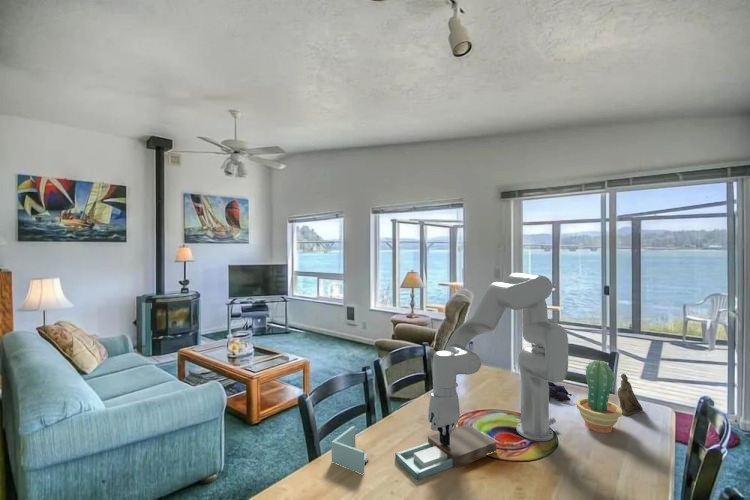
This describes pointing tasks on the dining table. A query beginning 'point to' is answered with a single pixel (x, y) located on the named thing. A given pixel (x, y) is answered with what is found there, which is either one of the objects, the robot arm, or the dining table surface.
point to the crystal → (558, 392)
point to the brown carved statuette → (628, 398)
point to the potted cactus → (599, 398)
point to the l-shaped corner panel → (348, 451)
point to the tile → (429, 456)
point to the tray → (414, 468)
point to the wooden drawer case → (465, 445)
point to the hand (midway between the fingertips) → (444, 443)
